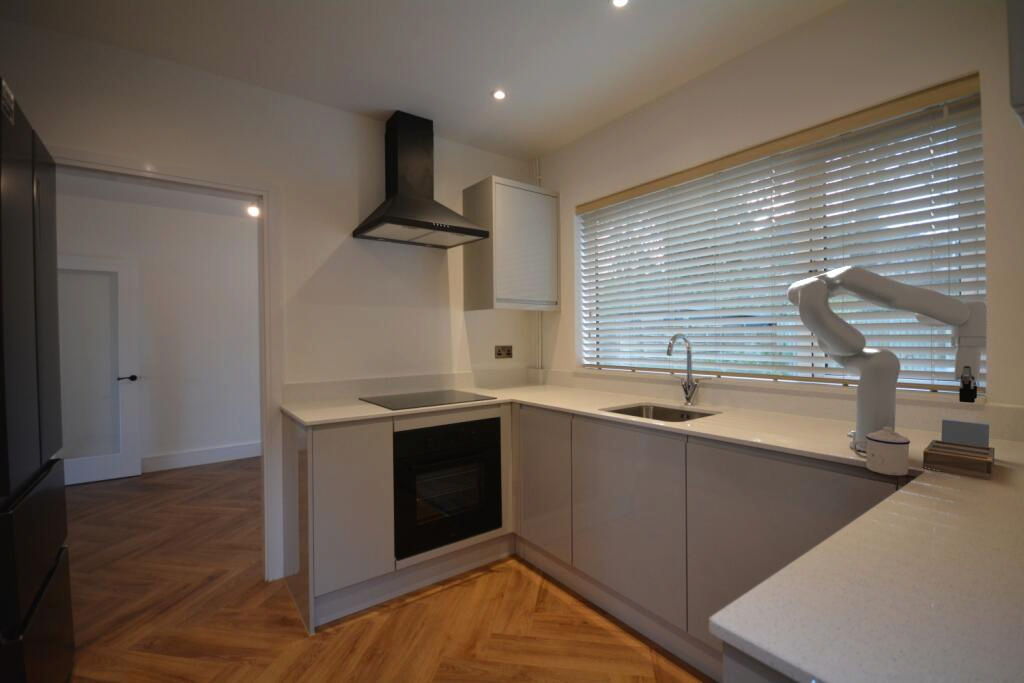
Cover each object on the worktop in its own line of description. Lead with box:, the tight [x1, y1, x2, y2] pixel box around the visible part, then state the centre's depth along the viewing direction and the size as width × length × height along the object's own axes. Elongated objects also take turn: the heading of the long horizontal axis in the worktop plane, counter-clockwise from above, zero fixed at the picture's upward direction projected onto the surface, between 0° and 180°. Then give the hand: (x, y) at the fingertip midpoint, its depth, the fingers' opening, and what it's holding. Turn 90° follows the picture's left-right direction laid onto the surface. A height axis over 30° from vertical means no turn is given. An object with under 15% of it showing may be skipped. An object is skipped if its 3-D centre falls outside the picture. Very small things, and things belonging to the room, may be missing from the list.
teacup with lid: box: [852, 427, 911, 477], centre depth 124 cm, size 12×9×12 cm
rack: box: [922, 439, 996, 481], centre depth 127 cm, size 20×13×5 cm, turn 132°
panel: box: [940, 418, 990, 447], centre depth 139 cm, size 2×10×10 cm, turn 42°
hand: (968, 400), depth 138 cm, fingers open, 9 cm apart
